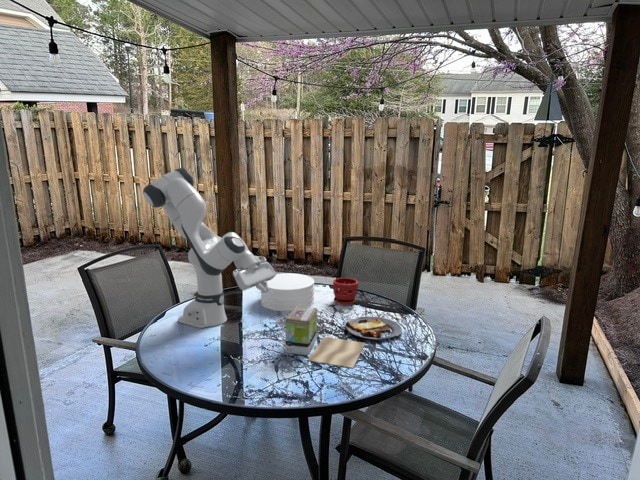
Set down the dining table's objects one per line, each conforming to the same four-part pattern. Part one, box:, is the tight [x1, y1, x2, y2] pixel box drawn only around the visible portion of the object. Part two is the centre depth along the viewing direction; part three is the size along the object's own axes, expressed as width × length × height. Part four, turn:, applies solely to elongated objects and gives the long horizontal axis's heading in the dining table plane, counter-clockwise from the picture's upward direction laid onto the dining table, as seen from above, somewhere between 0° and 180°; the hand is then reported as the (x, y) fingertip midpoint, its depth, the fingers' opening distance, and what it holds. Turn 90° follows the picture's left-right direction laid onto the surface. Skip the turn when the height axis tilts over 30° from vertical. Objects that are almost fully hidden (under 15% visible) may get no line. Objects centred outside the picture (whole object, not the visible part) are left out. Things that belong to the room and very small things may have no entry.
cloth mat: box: [307, 336, 366, 369], centre depth 177 cm, size 18×22×1 cm
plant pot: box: [332, 277, 359, 306], centre depth 231 cm, size 13×13×12 cm
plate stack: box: [260, 272, 315, 312], centre depth 232 cm, size 28×28×12 cm
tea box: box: [284, 306, 318, 356], centre depth 180 cm, size 15×10×15 cm, turn 168°
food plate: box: [345, 315, 403, 341], centre depth 197 cm, size 25×23×4 cm
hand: (266, 291), depth 183 cm, fingers closed
